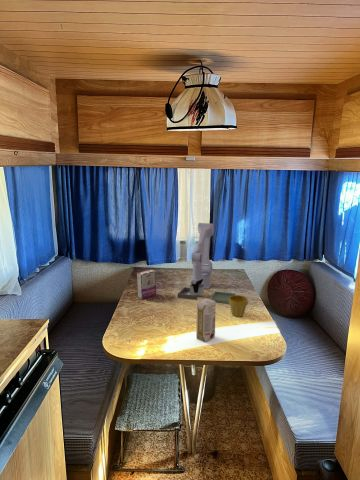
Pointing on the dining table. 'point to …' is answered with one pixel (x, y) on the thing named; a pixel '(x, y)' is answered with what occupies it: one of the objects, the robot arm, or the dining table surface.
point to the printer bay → (181, 295)
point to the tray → (221, 297)
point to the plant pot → (238, 305)
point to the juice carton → (205, 320)
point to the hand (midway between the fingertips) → (197, 291)
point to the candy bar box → (146, 284)
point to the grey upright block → (200, 290)
